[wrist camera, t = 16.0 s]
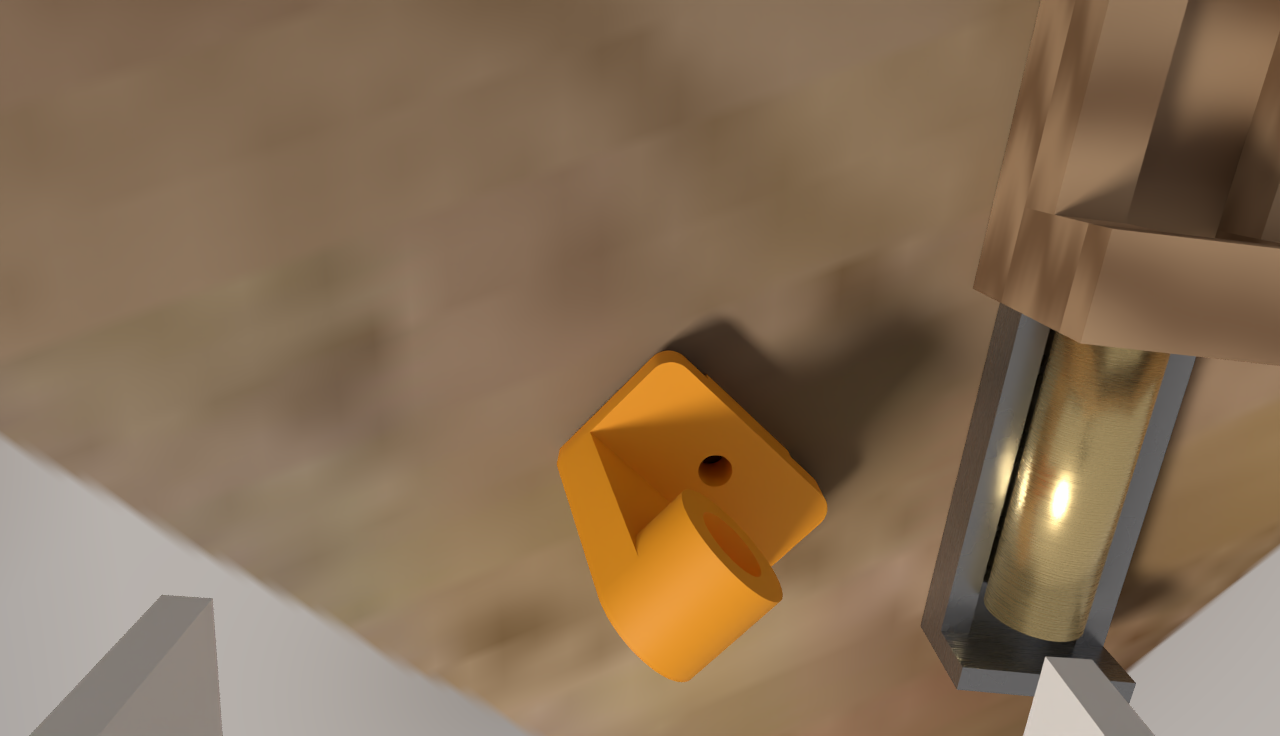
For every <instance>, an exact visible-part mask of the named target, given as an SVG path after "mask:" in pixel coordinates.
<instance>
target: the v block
mask: <svg viewBox="0 0 1280 736" xmlns="http://www.w3.org/2000/svg"><path fill="white" fill-rule="evenodd" d="M1055 332H1056V331H1055V330H1053V329H1051V328H1049V327H1047V326H1045V325H1043V324H1041V323H1039V322H1038V321H1036V320H1034V319H1032V318H1030V317H1028V316H1026V315H1024V314H1022V313H1020V312H1018V311H1016V310H1014V309H1012V308H1010V307H1008V306H1006V305H1004V304H1002V303H1000V306H999V310H998V314H997V318H996V322H995V326H994V330H993V334H992V338H991V342H990V346H989V350H988V354H987V358H986V362H985V367H984V371H983V375H982V379H981V383H980V387H979V391H978V395H977V399H976V403H975V407H974V411H973V415H972V419H971V423H970V427H969V431H968V436H967V440H966V444H965V448H964V452H963V456H962V460H961V464H960V468H959V472H958V476H957V480H956V484H955V488H954V492H953V496H952V501H951V505H950V509H949V513H948V517H947V521H946V525H945V529H944V533H943V537H942V541H941V545H940V549H939V553H938V557H937V561H936V566H935V570H934V574H933V578H932V582H931V586H930V590H929V594H928V598H927V602H926V606H925V610H924V614H923V618H922V622H921V628H922V629H923V631H924V633H925V635H926V636H927V638H928V640H929V642H930V643H931V645H932V647H933V649H934V650H935V652H936V654H937V656H938V657H939V659H940V661H941V663H942V664H943V666H944V668H945V670H946V671H947V673H948V675H949V677H950V678H951V680H952V682H953V683H954V685H955V687H956V689H958V690H969V691H980V692H991V693H1002V694H1013V695H1024V696H1035V692H1036V689H1037V685H1038V681H1039V678H1040V674H1041V671H1042V667H1043V663H1044V660H1045V656H1047V657H1062V658H1076V659H1091V660H1093V661H1094V663H1095V664H1096V665H1097V666H1098V667H1099V669H1100V670H1101V671H1102V672H1103V673H1104V675H1105V676H1106V677H1107V678H1108V679H1109V681H1110V682H1111V683H1112V684H1113V686H1114V687H1115V688H1116V689H1117V690H1118V692H1119V693H1120V694H1121V695H1122V696H1123V698H1124V699H1125V700H1126V701H1127V702H1128V704H1129V702H1130V699H1131V696H1132V693H1133V691H1134V688H1135V684H1136V683H1135V682H1134V680H1133V679H1132V678H1131V677H1130V676H1129V675H1128V674H1127V673H1126V671H1125V670H1124V669H1123V668H1122V667H1121V666H1120V665H1119V664H1118V662H1117V661H1116V660H1115V659H1114V658H1113V657H1112V656H1111V655H1110V653H1109V652H1108V651H1107V650H1106V649H1105V648H1104V647H1103V645H1104V642H1105V639H1106V636H1107V633H1108V630H1109V627H1110V623H1111V620H1112V617H1113V614H1114V611H1115V608H1116V605H1117V602H1118V598H1119V595H1120V592H1121V589H1122V586H1123V583H1124V580H1125V577H1126V574H1127V570H1128V567H1129V564H1130V561H1131V558H1132V555H1133V552H1134V549H1135V546H1136V542H1137V539H1138V536H1139V533H1140V530H1141V527H1142V524H1143V521H1144V518H1145V514H1146V511H1147V508H1148V505H1149V502H1150V499H1151V496H1152V493H1153V489H1154V486H1155V483H1156V480H1157V477H1158V474H1159V471H1160V468H1161V465H1162V461H1163V458H1164V455H1165V452H1166V449H1167V446H1168V443H1169V440H1170V437H1171V433H1172V430H1173V427H1174V424H1175V421H1176V418H1177V415H1178V412H1179V409H1180V405H1181V402H1182V399H1183V396H1184V393H1185V390H1186V387H1187V384H1188V380H1189V377H1190V374H1191V371H1192V368H1193V365H1194V362H1195V359H1196V356H1188V355H1179V354H1170V357H1169V361H1168V364H1167V367H1166V370H1165V373H1164V377H1163V380H1162V383H1161V386H1160V389H1159V393H1158V396H1157V399H1156V402H1155V405H1154V409H1153V412H1152V415H1151V418H1150V421H1149V425H1148V428H1147V431H1146V434H1145V437H1144V441H1143V444H1142V447H1141V450H1140V453H1139V457H1138V460H1137V463H1136V466H1135V469H1134V473H1133V476H1132V479H1131V482H1130V485H1129V489H1128V492H1127V495H1126V498H1125V501H1124V505H1123V508H1122V511H1121V514H1120V517H1119V521H1118V524H1117V527H1116V530H1115V533H1114V537H1113V540H1112V543H1111V546H1110V549H1109V553H1108V556H1107V559H1106V562H1105V565H1104V569H1103V572H1102V575H1101V578H1100V581H1099V585H1098V588H1097V591H1096V594H1095V597H1094V601H1093V604H1092V607H1091V610H1090V613H1089V617H1088V620H1087V623H1086V626H1085V629H1084V633H1083V635H1082V636H1081V637H1080V638H1079V639H1077V640H1074V641H1069V642H1054V641H1047V640H1043V639H1039V638H1035V637H1032V636H1029V635H1026V634H1024V633H1021V632H1019V631H1017V630H1014V629H1012V628H1011V627H1009V626H1007V625H1005V624H1004V623H1002V622H1001V621H999V620H998V619H997V618H996V617H994V616H993V615H992V614H991V613H990V612H989V611H988V609H987V608H986V606H985V604H984V596H985V592H986V588H987V584H988V581H989V577H990V573H991V570H992V566H993V562H994V558H995V555H996V551H997V547H998V544H999V540H1000V536H1001V532H1002V529H1003V525H1004V521H1005V517H1006V514H1007V510H1008V506H1009V503H1010V499H1011V495H1012V491H1013V488H1014V484H1015V480H1016V477H1017V473H1018V469H1019V465H1020V462H1021V458H1022V454H1023V451H1024V447H1025V443H1026V439H1027V436H1028V432H1029V428H1030V425H1031V421H1032V417H1033V413H1034V410H1035V406H1036V402H1037V399H1038V395H1039V391H1040V387H1041V384H1042V380H1043V376H1044V373H1045V369H1046V365H1047V361H1048V358H1049V354H1050V350H1051V347H1052V343H1053V339H1054V335H1055Z"/></svg>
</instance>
